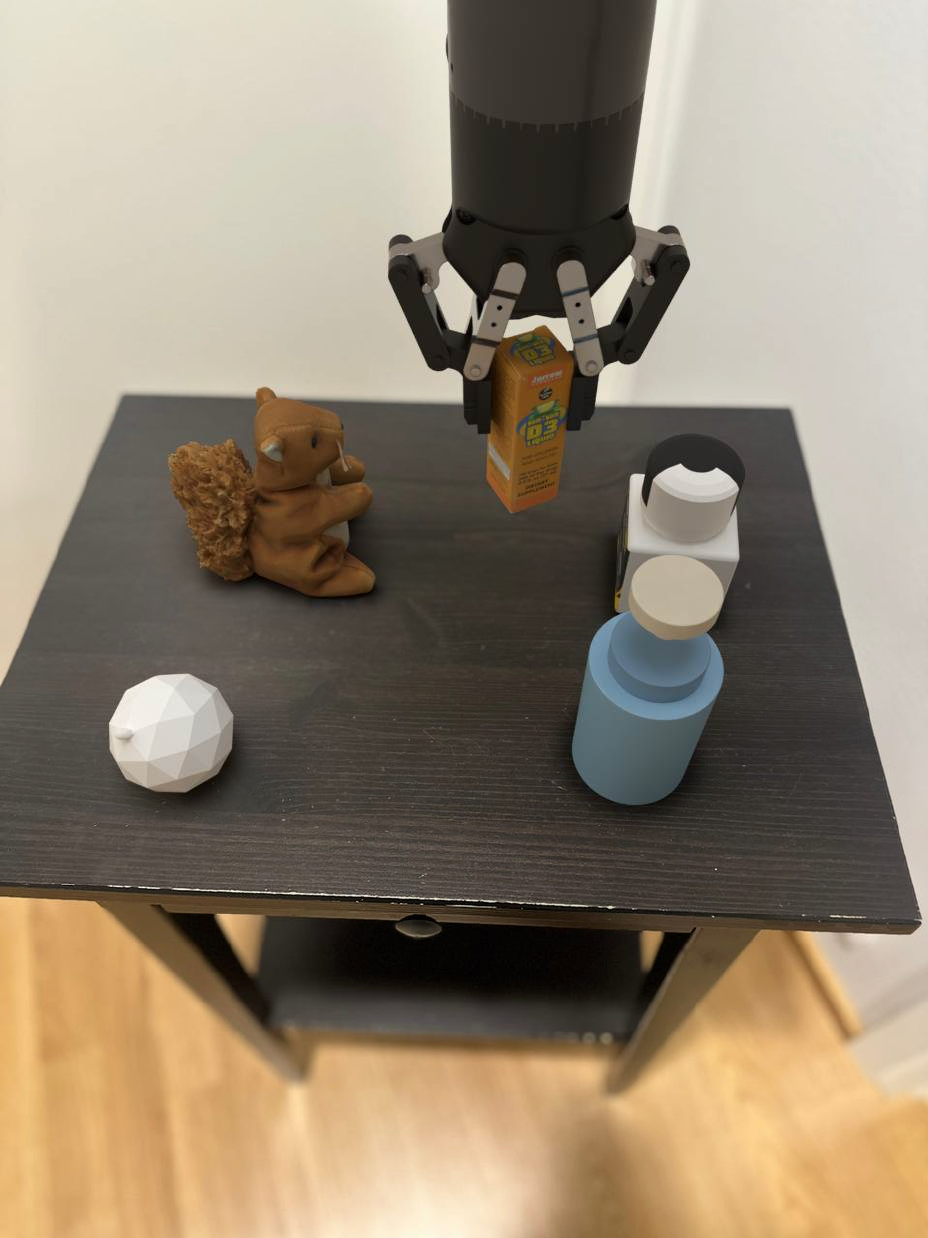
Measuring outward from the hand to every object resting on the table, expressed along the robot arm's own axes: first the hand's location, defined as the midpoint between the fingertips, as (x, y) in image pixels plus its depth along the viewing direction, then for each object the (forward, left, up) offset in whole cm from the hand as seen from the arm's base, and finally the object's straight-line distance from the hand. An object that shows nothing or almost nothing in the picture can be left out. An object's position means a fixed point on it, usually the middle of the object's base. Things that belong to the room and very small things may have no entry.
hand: (527, 421), depth 47 cm
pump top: (-6, +11, -5) cm, 13 cm away
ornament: (+22, +10, -18) cm, 30 cm away
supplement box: (0, 0, -5) cm, 5 cm away
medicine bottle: (-11, -3, -18) cm, 22 cm away
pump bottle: (-6, +11, -18) cm, 22 cm away
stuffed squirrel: (+17, -7, -18) cm, 26 cm away
